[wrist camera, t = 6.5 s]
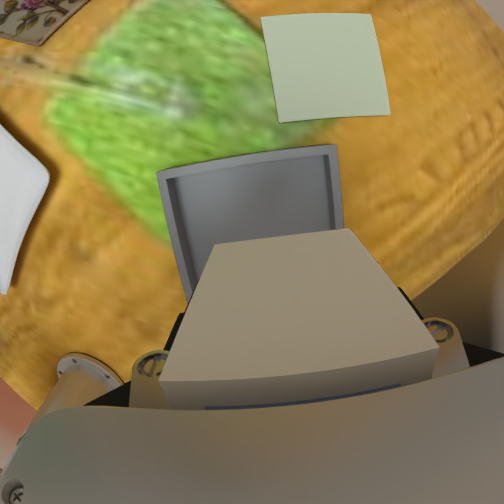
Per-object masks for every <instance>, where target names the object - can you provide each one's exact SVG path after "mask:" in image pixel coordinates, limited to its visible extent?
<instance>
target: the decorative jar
mask: <svg viewBox="0 0 504 504" xmlns="http://www.w3.org/2000/svg"><path fill="white" fill-rule="evenodd" d="M88 1H89V0H0V38H3V39H8V40H12V41H17V42H21V43H25V44H29V45H34V46H41V45H42V44H43V43H44V42H45V40H46V39H47V38H48V37H49V36H50V35H51V34H52V33H54V32H55V31H56V30H57V29H58V28H59V27H60V26H61V25H62V24H63V23H64V22H65V21H66V20H67V19H68V18H70V17H71V16H72V15H73V14H74V13H75V12H76V11H77V10H78V9H80V8H81V7H82V6H83V5H84V4H85V3H86V2H88Z"/></svg>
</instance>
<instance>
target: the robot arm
mask: <svg viewBox="0 0 504 504" xmlns="http://www.w3.org/2000/svg"><path fill="white" fill-rule="evenodd" d="M378 264H379V263H378ZM382 269H383V268H382ZM385 273H386V272H385ZM389 278H390V277H389ZM199 280H200V279H199ZM199 280H198V282H199ZM198 282H197V284H198ZM392 282H393V281H392ZM197 284H196V286H195V289H196V287H197ZM395 286H396V285H395ZM397 288H398V289H399V291H400V292H401V293H402V295H403V296H404V297H405V299H406V300H407V302H408V303H409V304H410V306H411V307H412V308H413V310H414V311H415V312H416V314H417V315H418V317H419V318H420V319H421V321H422V322H423V324H424V325H425V327H426V328H427V329H428V331H429V332H430V334H431V335H432V337H433V338H434V340H435V341H436V343H437V344H438V345H439V347H440V348H439V352H438V356H437V359H436V363H435V367H434V370H433V374H432V377H431V379H429V380H425V381H421V382H418V383H414V384H410V385H406V386H401V387H397V388H393V389H388V390H384V391H379V392H374V393H369V394H364V395H359V396H353V397H348V398H342V399H335V400H329V401H322V402H314V403H306V404H298V405H288V406H278V407H266V408H250V409H228V410H172V409H171V407H170V405H169V403H168V401H167V399H166V397H165V394H164V392H163V390H162V388H161V386H160V384H159V381H158V380H159V378H160V375H161V372H162V370H163V367H164V365H165V362H166V360H167V357H168V355H169V352H170V350H171V347H172V345H173V342H174V340H175V337H176V335H177V332H178V330H179V328H180V325H181V323H182V320H183V318H184V315H185V313H186V311H187V308H188V306H189V303H190V301H191V299H192V296H193V294H194V291H195V289H194V291H193V293H192V295H191V298H190V300H189V303H188V305H187V307H186V310H185V312H184V313H180V314H179V315H178V318H177V320H176V322H175V324H174V327H173V329H172V331H171V334H170V336H169V338H168V341H167V343H166V345H165V347H164V350H156V351H152V352H148V353H146V354H144V355H142V356H141V357H140V358H139V359H137V361H136V362H135V363H134V365H133V368H132V377H131V381H129V382H127V383H125V384H123V382H122V381H121V380H120V378H119V377H118V376H117V375H116V374H115V373H114V372H113V371H112V370H111V369H110V368H108V367H107V366H106V365H104V364H103V363H101V362H100V361H98V360H96V359H94V358H92V357H90V356H87V355H84V354H80V353H69V354H66V355H64V356H63V357H62V358H61V359H60V361H59V362H58V365H57V374H58V377H59V379H58V381H57V382H56V384H55V385H54V387H53V388H52V390H51V391H50V393H49V394H48V396H47V397H46V399H45V400H44V402H43V403H42V405H41V406H40V408H39V409H38V411H37V413H36V414H35V416H34V417H33V419H32V420H31V422H30V424H29V425H28V427H27V428H26V430H25V432H24V433H23V435H22V436H21V438H20V439H19V441H18V443H17V447H16V449H15V450H14V452H13V453H12V455H11V457H10V458H9V460H8V462H7V464H6V466H5V467H4V469H2V468H0V504H504V354H502V353H499V352H496V351H492V350H489V349H485V348H481V347H478V346H474V345H471V344H467V343H464V342H462V340H461V338H460V335H459V332H458V329H457V328H456V326H455V325H454V324H453V323H451V322H450V321H448V320H445V319H441V318H427V319H424V318H423V317H422V316H421V314H420V313H419V311H418V310H417V309H416V307H415V306H414V305H413V304H412V302H411V301H410V299H409V298H408V297H407V295H406V294H405V293H404V292H403V290H402V289H401V288H400V287H397Z"/></svg>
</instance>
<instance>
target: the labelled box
mask: <svg viewBox="0 0 504 504" xmlns="http://www.w3.org/2000/svg"><path fill="white" fill-rule="evenodd" d="M439 348H440V347H439V345H438V344H437V343H436V341H435V340H434V338H433V337H432V335H431V334H430V332H429V331H428V329H427V328H426V327H425V325H424V324H423V322H422V321H421V319H420V318H419V317H418V315H417V314H416V312H415V311H414V310H413V308H412V307H411V306H410V304H409V303H408V302H407V300H406V299H405V297H404V296H403V295H402V293H401V292H400V291H399V289H398V288H397V287H396V286H395V284H394V283H393V282H392V280H391V279H390V278H389V276H388V275H387V274H386V273H385V271H384V270H383V269H382V267H381V266H380V265H379V264H378V262H377V261H376V260H375V259H374V257H373V256H372V255H371V254H370V252H369V251H368V250H367V249H366V248H365V246H364V245H363V244H362V243H361V241H360V240H359V239H358V238H357V237H356V235H355V234H354V233H353V232H352V231H351V229H350V228H346V229H337V230H328V231H320V232H311V233H303V234H295V235H286V236H278V237H270V238H262V239H254V240H246V241H238V242H230V243H222V244H215V245H214V247H213V250H212V252H211V254H210V256H209V259H208V261H207V263H206V266H205V268H204V270H203V273H202V275H201V277H200V280H199V282H198V284H197V287H196V289H195V291H194V294H193V296H192V299H191V301H190V303H189V306H188V308H187V311H186V313H185V315H184V318H183V320H182V323H181V325H180V328H179V330H178V332H177V335H176V337H175V340H174V342H173V345H172V347H171V350H170V352H169V355H168V357H167V360H166V362H165V365H164V367H163V370H162V372H161V375H160V378H159V380H158V381H159V384H160V386H161V388H162V390H163V392H164V394H165V397H166V399H167V401H168V403H169V405H170V407H171V409H172V410H228V409H250V408H266V407H278V406H288V405H298V404H306V403H314V402H322V401H329V400H335V399H342V398H348V397H353V396H359V395H364V394H369V393H374V392H379V391H384V390H388V389H393V388H397V387H401V386H406V385H410V384H414V383H418V382H421V381H425V380H429V379H431V377H432V374H433V370H434V367H435V363H436V359H437V356H438V352H439Z"/></svg>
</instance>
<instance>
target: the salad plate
mask: <svg viewBox="0 0 504 504" xmlns="http://www.w3.org/2000/svg"><path fill="white" fill-rule="evenodd" d="M49 182H50V173H49V171H48V169H47V168H46V167H45V166H44V165H43V164H42V163H41V162H40V161H39V160H38V159H37V158H36V157H35V156H34V155H32V154H31V153H30V152H29V151H28V150H27V149H26V148H25V147H23V146H22V145H21V144H20V143H19V142H18V141H17V140H16V139H15V138H14V137H13V136H12V135H11V134H10V133H9V132H8V131H7V130H6V129H5V128H4V127H3V126H2V125H1V124H0V292H1V293H2V294H3V295H6V294H7V292H8V290H9V286H10V282H11V278H12V274H13V270H14V266H15V262H16V259H17V255H18V252H19V249H20V246H21V244H22V241H23V238H24V236H25V233H26V231H27V229H28V226H29V224H30V222H31V220H32V218H33V216H34V214H35V211H36V209H37V207H38V205H39V203H40V201H41V200H42V198H43V196H44V193H45V191H46V189H47V187H48V185H49Z"/></svg>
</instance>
